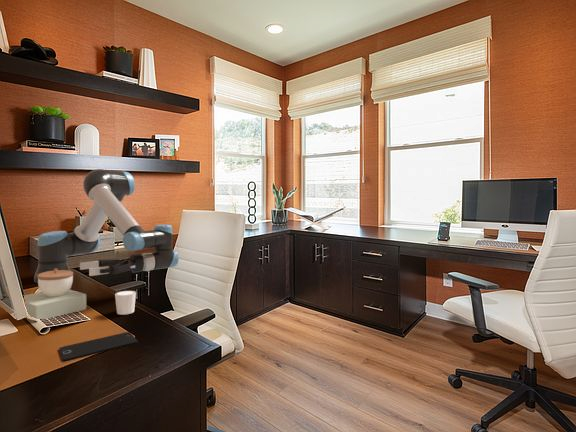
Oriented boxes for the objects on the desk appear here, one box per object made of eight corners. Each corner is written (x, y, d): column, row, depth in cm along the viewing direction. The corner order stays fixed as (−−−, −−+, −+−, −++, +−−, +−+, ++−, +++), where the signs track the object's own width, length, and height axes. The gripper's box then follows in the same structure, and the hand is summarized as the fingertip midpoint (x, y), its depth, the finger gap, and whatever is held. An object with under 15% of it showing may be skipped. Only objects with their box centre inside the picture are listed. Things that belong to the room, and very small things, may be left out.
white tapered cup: (140, 310, 123) (140, 291, 123) (124, 316, 117) (123, 296, 116) (127, 307, 126) (126, 289, 126) (110, 313, 120) (110, 294, 119)
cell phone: (58, 350, 91) (58, 347, 91) (129, 334, 103) (129, 331, 103) (63, 363, 85) (63, 359, 85) (138, 344, 96) (138, 341, 96)
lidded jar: (79, 293, 124) (79, 268, 123) (46, 301, 115) (46, 274, 114) (64, 288, 129) (63, 264, 129) (31, 295, 120) (31, 269, 120)
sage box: (14, 314, 118) (13, 297, 117) (63, 302, 132) (62, 287, 131) (36, 323, 110) (36, 305, 109) (86, 310, 124) (86, 294, 123)
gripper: (153, 276, 134) (93, 285, 119) (131, 266, 152) (76, 273, 137) (153, 257, 134) (93, 264, 119) (130, 250, 151) (76, 254, 137)
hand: (84, 269), depth 128 cm, fingers open, 13 cm apart
